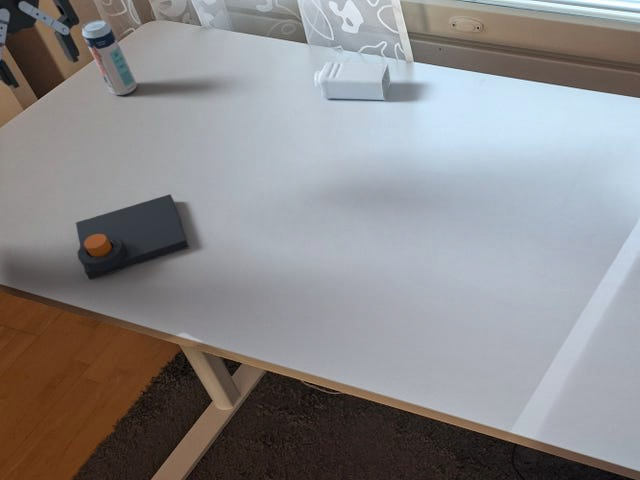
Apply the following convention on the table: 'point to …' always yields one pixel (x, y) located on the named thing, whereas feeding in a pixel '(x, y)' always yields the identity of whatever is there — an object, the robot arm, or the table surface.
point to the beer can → (108, 57)
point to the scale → (132, 235)
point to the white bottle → (353, 80)
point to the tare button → (98, 245)
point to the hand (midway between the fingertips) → (44, 73)
